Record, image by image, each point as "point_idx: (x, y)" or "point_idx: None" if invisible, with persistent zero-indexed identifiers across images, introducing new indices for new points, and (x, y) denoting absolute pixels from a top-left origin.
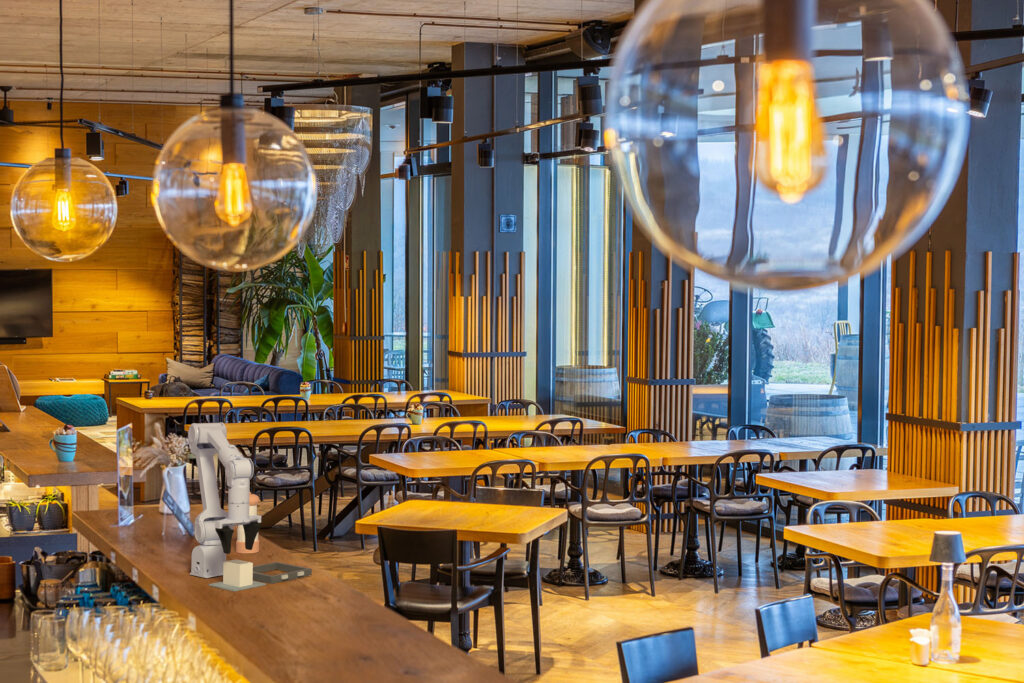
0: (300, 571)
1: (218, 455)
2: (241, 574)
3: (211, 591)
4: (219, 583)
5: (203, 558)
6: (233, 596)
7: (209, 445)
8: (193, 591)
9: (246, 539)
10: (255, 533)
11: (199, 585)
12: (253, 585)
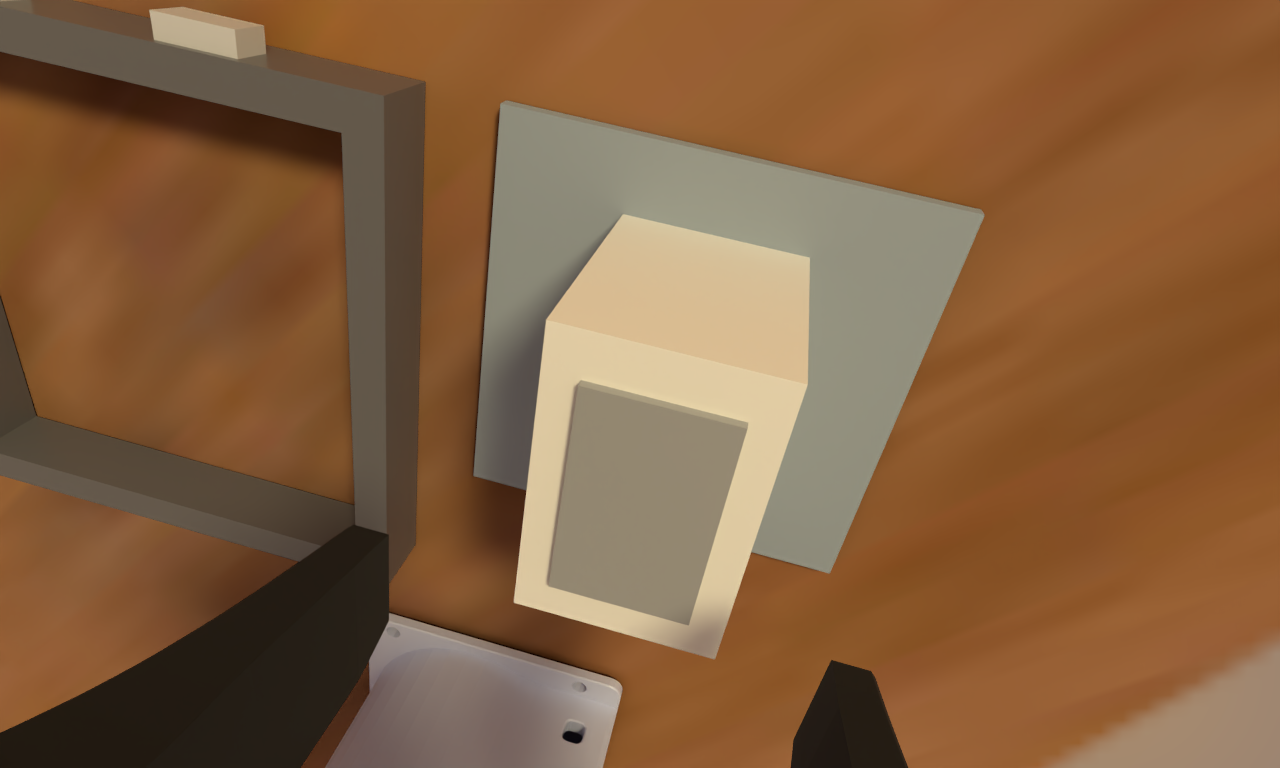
0: None
1: None
2: (779, 310)
3: (1058, 425)
4: None
5: None
6: (1275, 32)
7: None
8: (1117, 561)
9: (283, 761)
10: (67, 751)
11: (853, 624)
12: (658, 170)
